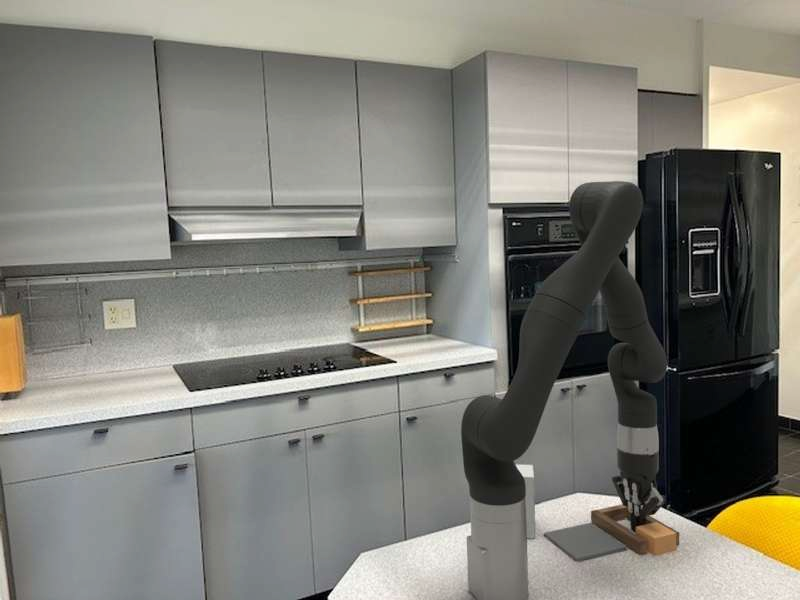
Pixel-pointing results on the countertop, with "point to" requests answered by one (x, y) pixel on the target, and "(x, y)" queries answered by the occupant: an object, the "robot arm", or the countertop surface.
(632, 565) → the countertop surface
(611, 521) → the cubby
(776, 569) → the countertop surface
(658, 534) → the block
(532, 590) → the countertop surface
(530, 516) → the supplement box
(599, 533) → the mat
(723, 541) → the countertop surface
